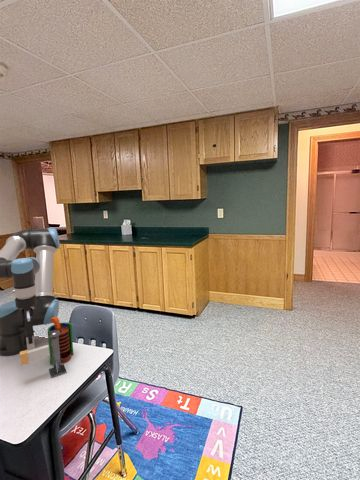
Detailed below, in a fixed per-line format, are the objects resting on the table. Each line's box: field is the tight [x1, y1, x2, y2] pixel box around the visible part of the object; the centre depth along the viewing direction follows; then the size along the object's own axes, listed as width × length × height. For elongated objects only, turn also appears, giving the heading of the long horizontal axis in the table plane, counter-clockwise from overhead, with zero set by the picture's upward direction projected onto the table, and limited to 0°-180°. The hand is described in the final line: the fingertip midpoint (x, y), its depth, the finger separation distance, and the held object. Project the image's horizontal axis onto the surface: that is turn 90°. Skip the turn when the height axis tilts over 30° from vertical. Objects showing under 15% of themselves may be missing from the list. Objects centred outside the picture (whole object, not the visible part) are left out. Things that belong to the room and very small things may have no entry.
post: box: [47, 330, 68, 379], centre depth 111 cm, size 6×6×18 cm
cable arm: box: [19, 344, 50, 366], centre depth 107 cm, size 3×10×5 cm, turn 124°
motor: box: [47, 316, 74, 366], centre depth 120 cm, size 10×9×20 cm
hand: (31, 349), depth 111 cm, fingers closed
